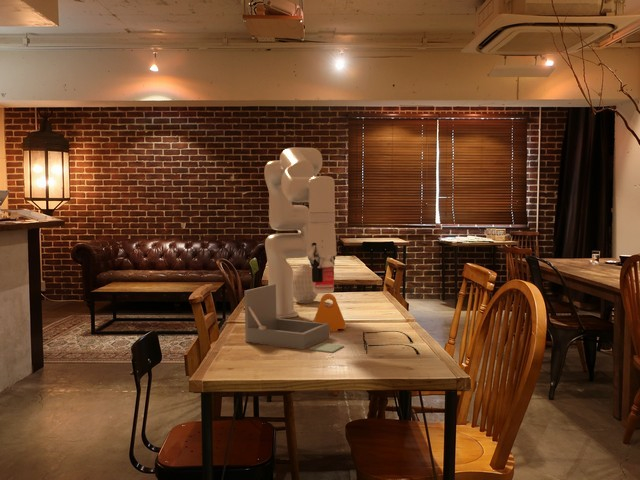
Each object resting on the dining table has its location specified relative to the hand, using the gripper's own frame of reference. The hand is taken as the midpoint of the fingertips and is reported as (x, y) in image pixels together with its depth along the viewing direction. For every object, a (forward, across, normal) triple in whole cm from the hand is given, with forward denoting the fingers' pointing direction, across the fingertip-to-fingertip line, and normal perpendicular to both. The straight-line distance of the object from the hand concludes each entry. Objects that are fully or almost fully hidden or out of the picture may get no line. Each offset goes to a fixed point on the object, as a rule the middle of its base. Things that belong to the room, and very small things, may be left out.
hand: (323, 279), depth 157 cm
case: (+20, -4, -15) cm, 25 cm away
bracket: (+20, -23, -11) cm, 32 cm away
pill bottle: (+4, 0, 0) cm, 4 cm away
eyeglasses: (+21, -8, +17) cm, 28 cm away
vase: (+20, -64, -45) cm, 81 cm away
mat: (+20, 0, +1) cm, 20 cm away
